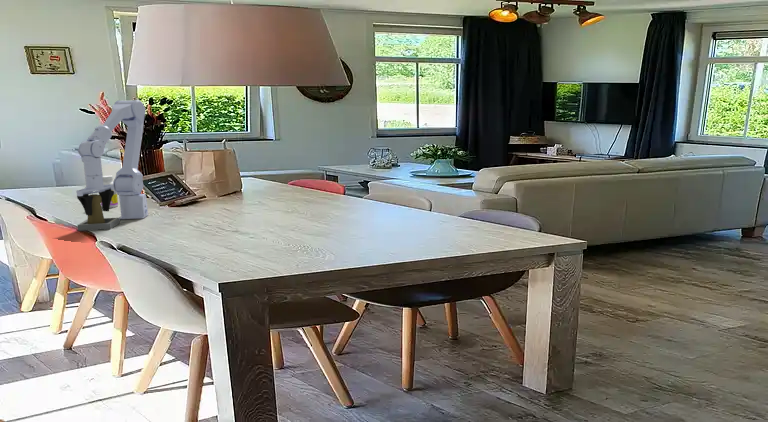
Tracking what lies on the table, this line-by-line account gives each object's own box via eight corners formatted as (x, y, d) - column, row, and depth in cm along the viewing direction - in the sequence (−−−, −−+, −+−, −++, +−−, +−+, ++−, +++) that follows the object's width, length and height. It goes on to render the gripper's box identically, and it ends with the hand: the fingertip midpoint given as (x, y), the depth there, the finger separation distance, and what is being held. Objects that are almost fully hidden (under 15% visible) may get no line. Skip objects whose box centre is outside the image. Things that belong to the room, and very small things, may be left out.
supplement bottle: (98, 208, 284) (94, 177, 282) (106, 205, 290) (103, 175, 288) (113, 208, 283) (109, 177, 280) (121, 205, 289) (118, 175, 287)
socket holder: (119, 222, 251) (119, 217, 251) (110, 229, 241) (109, 223, 240) (88, 224, 251) (88, 218, 250) (78, 230, 240) (77, 225, 239)
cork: (97, 227, 242) (94, 196, 240) (83, 226, 244) (80, 195, 242) (109, 223, 248) (106, 193, 246) (95, 223, 250) (91, 193, 248)
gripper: (101, 172, 250) (105, 208, 253) (68, 177, 237) (72, 216, 240) (116, 172, 247) (119, 209, 250) (83, 178, 234) (87, 217, 237)
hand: (97, 213), depth 245 cm, fingers open, 7 cm apart
